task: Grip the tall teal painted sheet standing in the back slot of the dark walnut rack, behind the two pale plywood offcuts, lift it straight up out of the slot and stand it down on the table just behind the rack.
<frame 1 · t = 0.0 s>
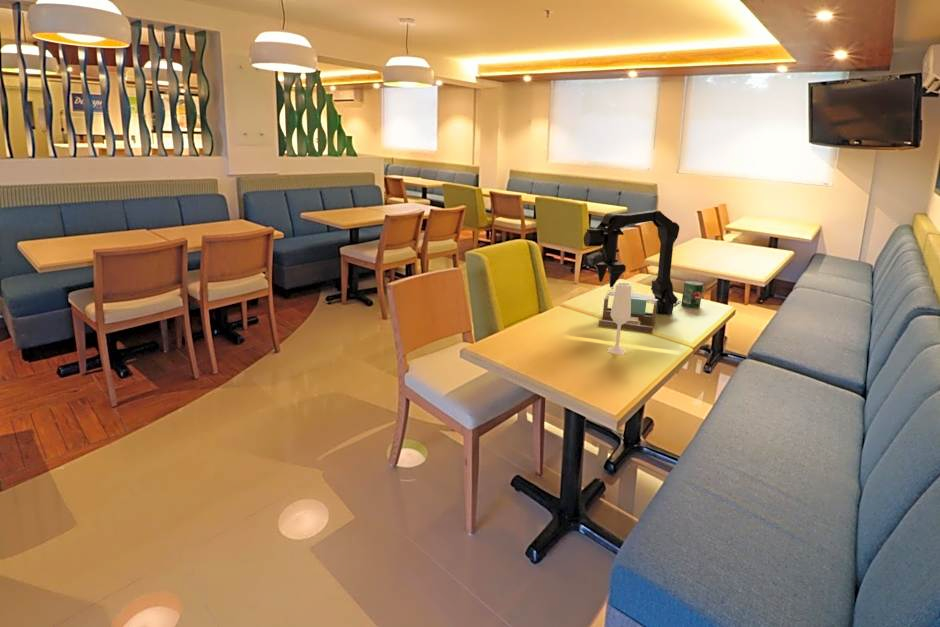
hand: (605, 284, 217), 15 cm above the table, tool pointing down, fingers open, 9 cm apart
canned tomato: (690, 306, 242), on the table
baseboard molding: (642, 300, 253), on the table
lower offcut: (626, 325, 210), point 1 cm above the table, touching upper offcut, walnut rack
upper offcut: (627, 321, 210), point 3 cm above the table, touching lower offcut
champagne flute: (616, 351, 188), on the table
walnut rack: (627, 324, 215), on the table
teal sheet: (628, 319, 218), point 1 cm above the table, touching walnut rack
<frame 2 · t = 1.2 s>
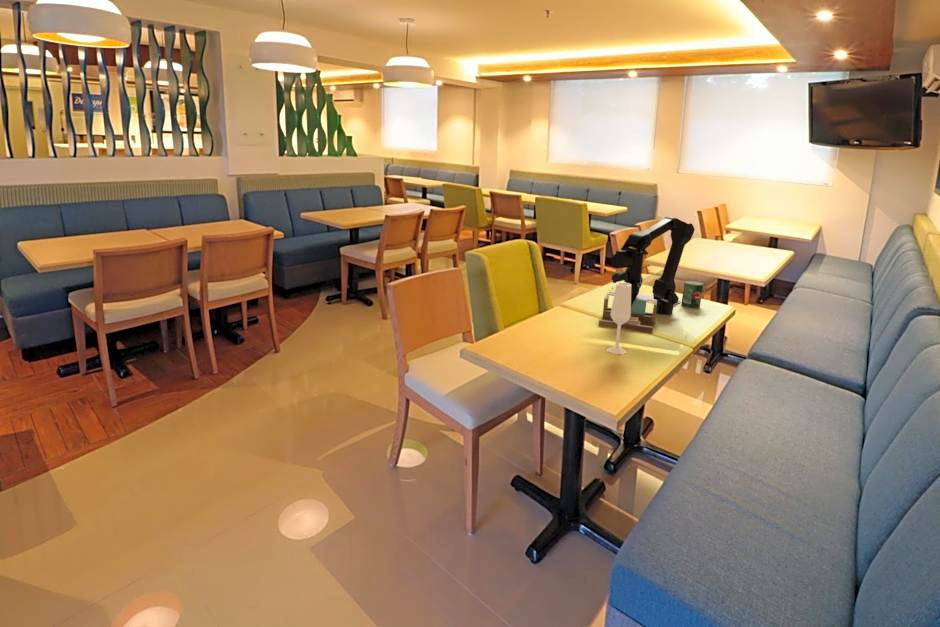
hand: (630, 304, 216), 8 cm above the table, tool pointing down, fingers open, 9 cm apart
nothing on the table moved.
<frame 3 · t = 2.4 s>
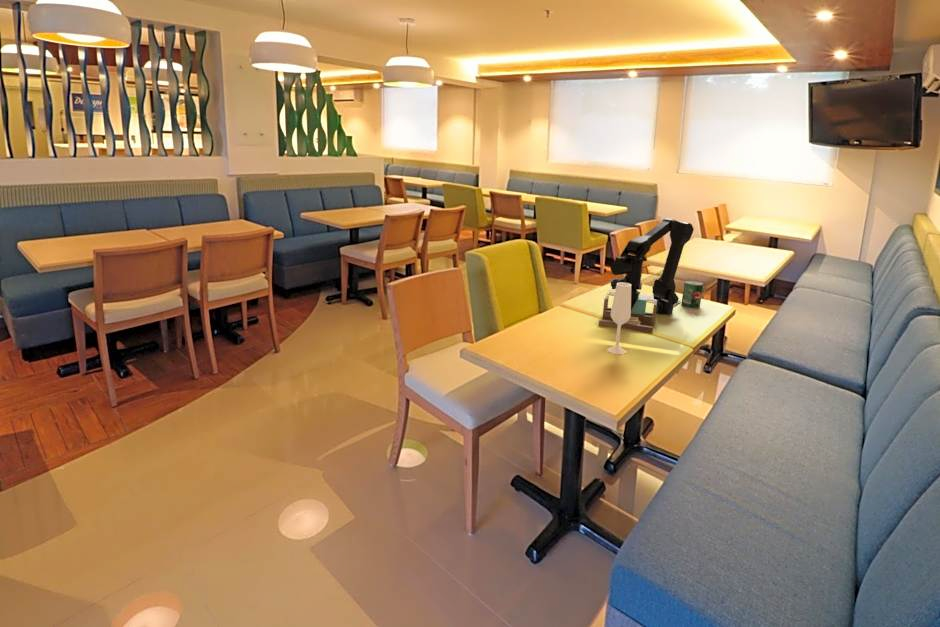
hand: (629, 310, 217), 5 cm above the table, tool pointing down, fingers closed on teal sheet, 2 cm apart
teal sheet: (628, 319, 218), point 1 cm above the table, touching gripper, walnut rack
everything else where it was.
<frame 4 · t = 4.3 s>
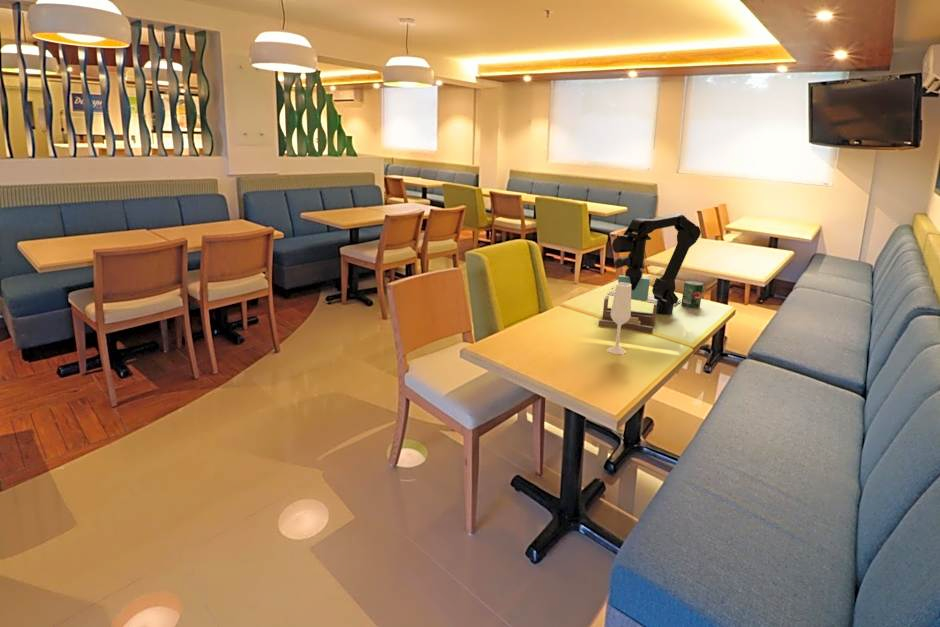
hand: (633, 289, 218), 13 cm above the table, tool pointing down, fingers closed on teal sheet
teal sheet: (631, 298, 219), point 9 cm above the table, touching gripper
everything else where it was.
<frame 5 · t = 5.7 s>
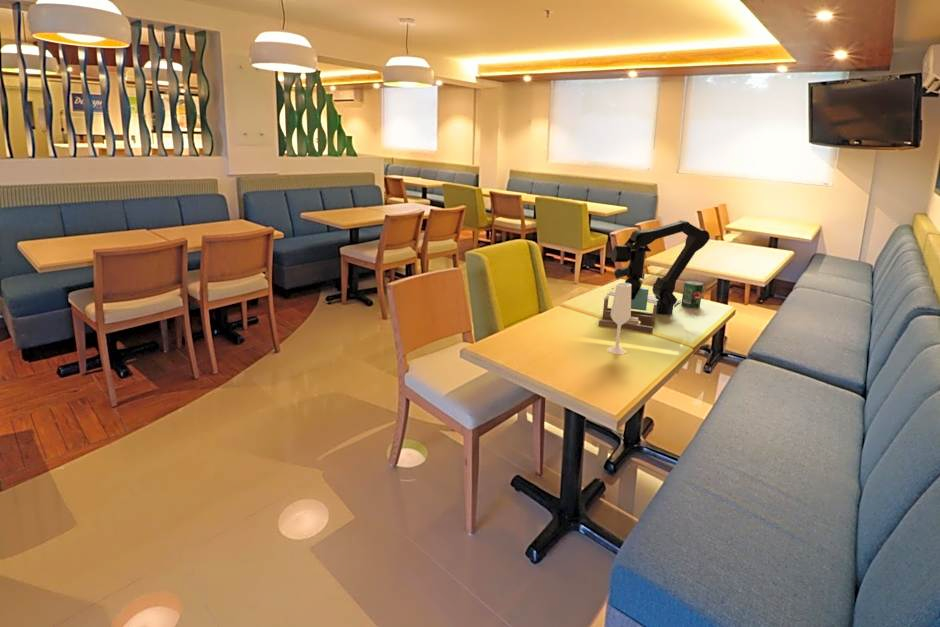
hand: (632, 298, 224), 7 cm above the table, tool pointing down, fingers closed on teal sheet, 2 cm apart
teal sheet: (631, 308, 225), point 3 cm above the table, touching gripper
everything else where it was.
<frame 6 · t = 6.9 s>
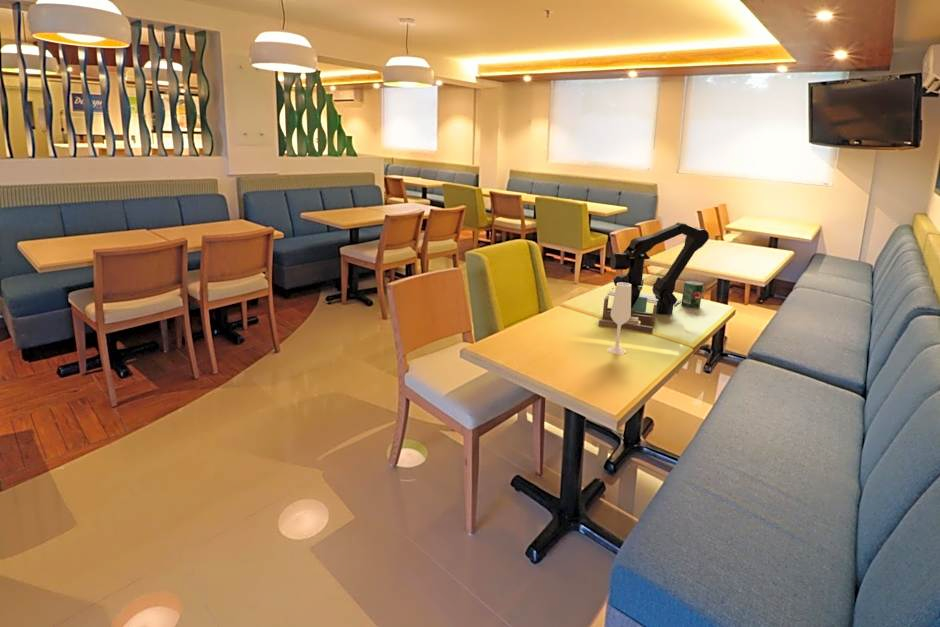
hand: (631, 306, 225), 4 cm above the table, tool pointing down, fingers open, 7 cm apart
teal sheet: (629, 315, 227), on the table
everything else where it was.
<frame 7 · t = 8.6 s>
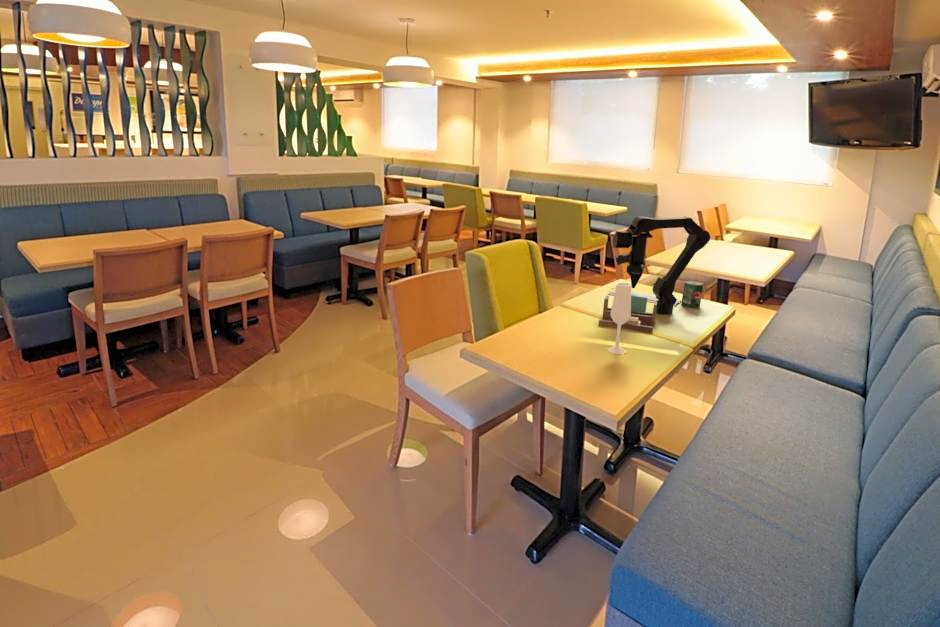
hand: (634, 285, 223), 13 cm above the table, tool pointing down, fingers open, 9 cm apart
nothing on the table moved.
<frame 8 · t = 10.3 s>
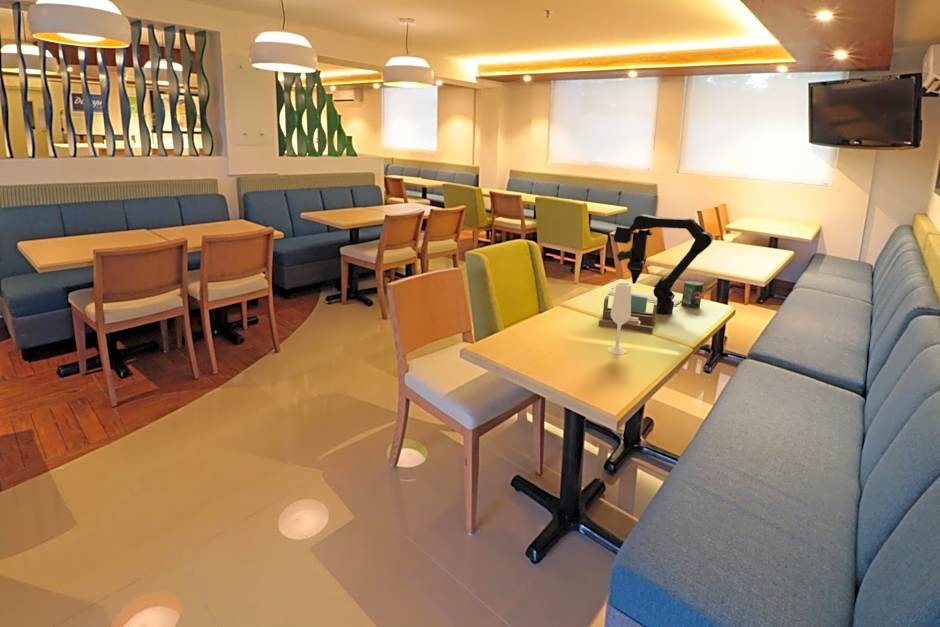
hand: (634, 281, 230), 13 cm above the table, tool pointing down, fingers open, 9 cm apart
nothing on the table moved.
at the end: teal sheet inside the target area (0.7 cm from its centre), on the table; teal sheet touching table; upper offcut moved 0.0 cm from its start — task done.
